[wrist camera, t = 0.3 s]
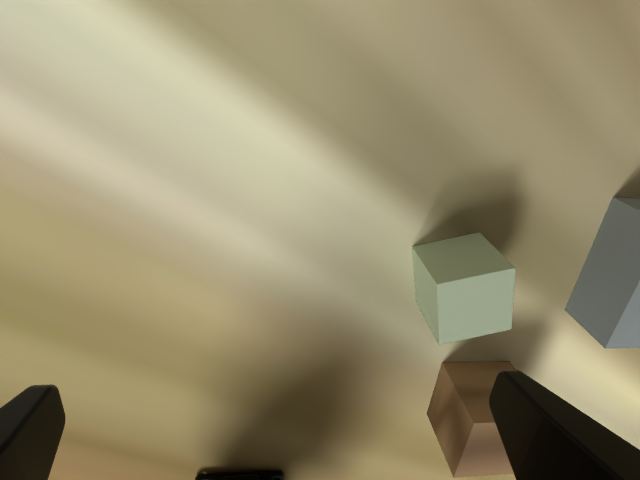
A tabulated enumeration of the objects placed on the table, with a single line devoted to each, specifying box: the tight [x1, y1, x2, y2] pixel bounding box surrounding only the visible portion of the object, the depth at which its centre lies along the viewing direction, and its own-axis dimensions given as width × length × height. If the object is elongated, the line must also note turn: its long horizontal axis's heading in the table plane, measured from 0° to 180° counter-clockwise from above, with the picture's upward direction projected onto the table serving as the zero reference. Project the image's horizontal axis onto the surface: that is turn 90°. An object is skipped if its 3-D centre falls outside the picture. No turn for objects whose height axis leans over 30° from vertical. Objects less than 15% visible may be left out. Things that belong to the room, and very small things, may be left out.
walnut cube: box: [427, 361, 515, 478], centre depth 28 cm, size 5×5×5 cm
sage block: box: [412, 232, 515, 345], centre depth 23 cm, size 4×4×4 cm
